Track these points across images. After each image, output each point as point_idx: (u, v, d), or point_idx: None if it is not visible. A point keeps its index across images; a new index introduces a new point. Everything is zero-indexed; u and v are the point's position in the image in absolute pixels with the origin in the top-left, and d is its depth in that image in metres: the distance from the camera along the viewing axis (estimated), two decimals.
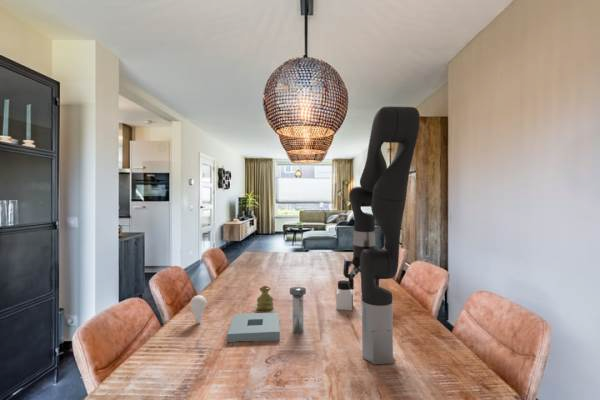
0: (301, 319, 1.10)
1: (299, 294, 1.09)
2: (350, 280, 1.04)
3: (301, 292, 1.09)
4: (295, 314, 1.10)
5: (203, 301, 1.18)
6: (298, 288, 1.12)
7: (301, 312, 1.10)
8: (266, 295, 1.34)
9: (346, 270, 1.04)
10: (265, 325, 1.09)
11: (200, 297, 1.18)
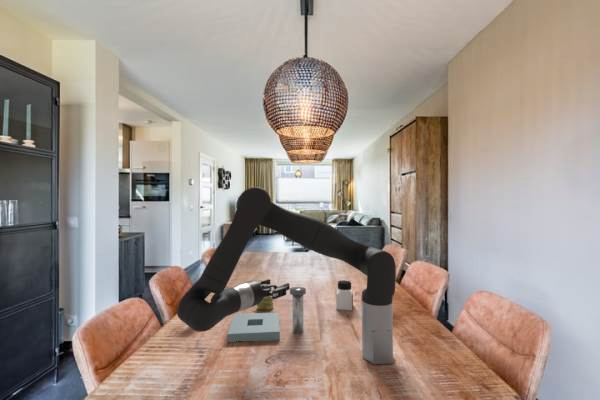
0: (301, 319, 1.10)
1: (299, 294, 1.09)
2: (284, 286, 0.97)
3: (301, 292, 1.09)
4: (295, 314, 1.10)
5: None
6: (298, 288, 1.12)
7: (301, 312, 1.10)
8: None
9: (280, 288, 0.93)
10: (265, 325, 1.09)
11: None
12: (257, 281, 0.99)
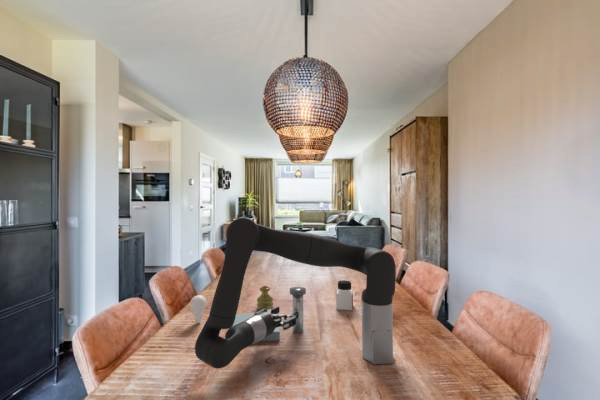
0: (301, 319, 1.10)
1: (299, 294, 1.09)
2: (293, 315, 1.01)
3: (301, 292, 1.09)
4: None
5: (203, 301, 1.18)
6: (298, 288, 1.12)
7: (301, 312, 1.10)
8: (266, 295, 1.34)
9: (290, 318, 0.97)
10: None
11: (200, 297, 1.18)
12: (267, 310, 1.03)
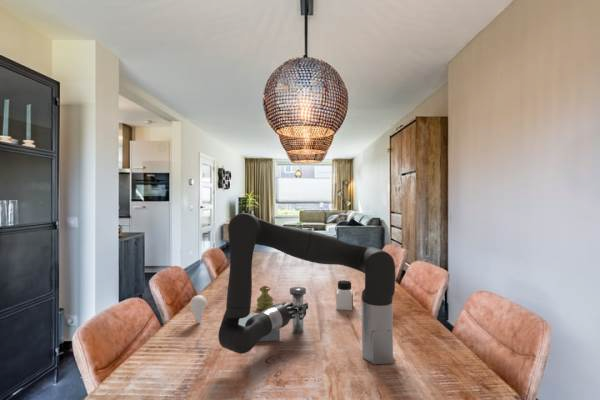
0: None
1: (299, 294, 1.09)
2: (303, 306, 1.09)
3: (301, 292, 1.09)
4: None
5: (203, 301, 1.18)
6: (298, 288, 1.12)
7: None
8: (266, 295, 1.34)
9: (303, 309, 1.05)
10: None
11: (200, 297, 1.18)
12: (285, 303, 1.10)
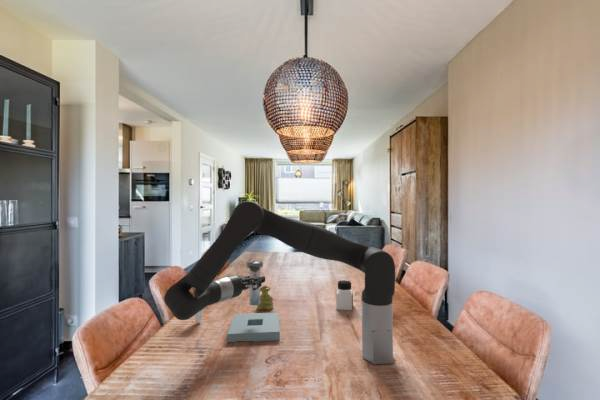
0: (257, 292, 1.10)
1: (255, 266, 1.09)
2: (259, 279, 1.10)
3: (257, 265, 1.10)
4: None
5: None
6: (255, 261, 1.13)
7: None
8: (266, 295, 1.34)
9: (257, 280, 1.06)
10: (265, 325, 1.09)
11: None
12: (242, 276, 1.11)
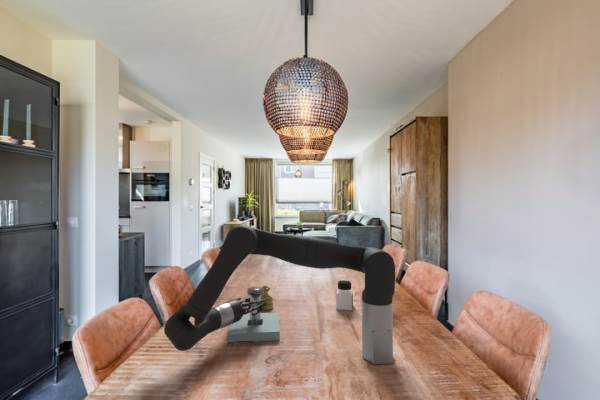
0: (257, 319, 1.10)
1: (256, 294, 1.09)
2: (261, 303, 1.09)
3: (258, 292, 1.09)
4: None
5: None
6: (256, 288, 1.13)
7: None
8: (266, 295, 1.34)
9: (258, 305, 1.05)
10: (265, 325, 1.09)
11: None
12: (240, 299, 1.11)
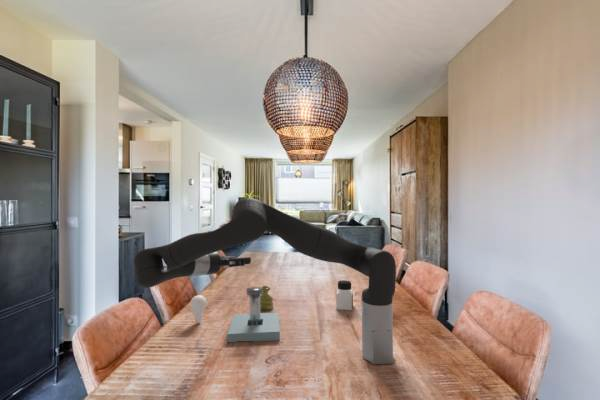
0: (257, 319, 1.10)
1: (255, 294, 1.09)
2: None
3: (257, 292, 1.09)
4: (252, 314, 1.10)
5: (203, 301, 1.18)
6: (255, 288, 1.13)
7: (257, 312, 1.10)
8: (266, 295, 1.34)
9: (238, 258, 0.98)
10: (265, 325, 1.09)
11: (200, 297, 1.18)
12: None
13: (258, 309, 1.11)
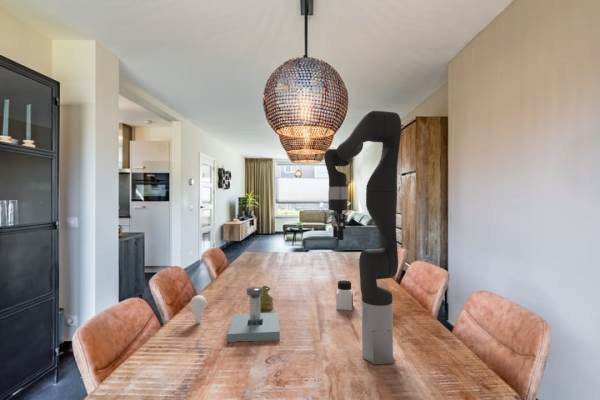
0: (257, 319, 1.10)
1: (255, 294, 1.09)
2: None
3: (257, 292, 1.09)
4: (252, 314, 1.10)
5: (203, 301, 1.18)
6: (255, 288, 1.13)
7: (258, 312, 1.10)
8: (266, 295, 1.34)
9: None
10: (265, 325, 1.09)
11: (200, 297, 1.18)
12: None
13: (258, 309, 1.11)
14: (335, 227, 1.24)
